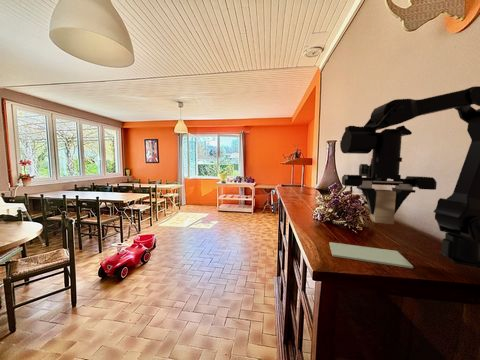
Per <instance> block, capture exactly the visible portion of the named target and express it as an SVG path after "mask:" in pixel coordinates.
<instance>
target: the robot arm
mask: <svg viewBox="0 0 480 360" xmlns="http://www.w3.org/2000/svg"><path fill="white" fill-rule="evenodd" d="M472 105H475V106H477V107H480V86H478V85H477V86H476V85H475V86H471V87H468V88H465V89H461V90H457V91H452V92H447V93H443V94H439V95H434V96H431V97H426V98H422V99H421V98H420V99H412V98H400V99H399V98H398V99H393V100H391V101H388V102H386V103H383V104H381V105H380V106H378V107H375V108H374V109H373V110H372V112H371V114H370V118H369V119H368V121H367V122H366V123H365V124H364V125H363V126H357V125H356V126H355V125H348V126H346V127H345V128H344V133H342V136H341V140H340V143H339V146H340V151H341V153H342V154H359V155H362V154H363V155H364V154H369V153H372V155H371V159H370V165H369V164H368V163H360V164H359V166H358V174H343V175H342V176H341V185H343V186H344V187H356V189H358V190H360V191H361V192H362V194H363V196H364V197H365V200H366V202H367V207H368V209H369V210H368V211H369V212H370V215H371V214H374V206H375V189H376V188H374V187H373V185H374V186H375V185H376V186H378V185H379V186H394V187H391V190H392V191H395V192H396V200H395V214H394V216H395V215H396V213H397V211H398V210H399V209H400V207H401V206H402V204H403V203H404V201H405V200H406V199H407V198H408V196H409V195H410V194H411V193H416V190H415V189H413V188H418V190H431V191H432V190H437V185H438V184H437V183H438V182H437V181H436V179H435V178H434V177H432V176H431V177H430V176H414V175H413V176H412V175H411V176H410V175H407V176H405V177H404V178H402V176H401V174H400V168H401V167H400V163H401V162H403V157H401V150H402V137H404V136H405V137H406V136H411V135H412V133H413V132H412V131H411V130H410V129H408V128H406V126H405V125H400V124H403V123H405V122H408V121H410V120H413V119H415V118H417V117H420V116H425V115H429V114H434V113H438V112H443V111H447V110H452V109H455V110H456V111H457V113H458V117H459V118H460V120H462V121H463V122H465V123H467V130H466V132H467V134H468V135H469V138H470V139H471V142H470V144H469V148H468V150H467V153H466V156H465V158H464V162H463V164H462V166H461V169H460V173H459V176H458V178H457V181H456V184H455V186H454V189H453V192H452V194H451V195H450V196H447V198H444V197H443V198H442V197H441V198H438V200H437V205H436V207H435V209H434V210H433V213H434V220H435V221H436V222H437V225H438V229H439V231H440V232H444V233H445V235H444V236H445V238H442V244H441V251H439V254H441V256H444V257H445V258H447V259H448V260H450V261H451V262H453V263H456V264H459V265H465V266H466V265H467V266H475V267H480V108H478V109H475V108H474V107H473V106H472ZM397 125H400V126H397ZM392 126H393V127H394V126H396V128H390V127H392ZM379 130H381V132H377V131H379Z"/></svg>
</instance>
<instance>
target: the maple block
mask: <svg viewBox="0 0 480 360" xmlns="http://www.w3.org/2000/svg"><path fill="white" fill-rule="evenodd" d="M374 189H375V206H374V214H371V213H370V216H369V218H370V220H371V221H373V223H377V224H386V225H387V224H388V225H389V224H390V225H394V224H395V215H396V213H395V200H396V192H395V191H392V189H376V188H374ZM394 214H395V215H394Z"/></svg>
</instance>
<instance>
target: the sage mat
mask: <svg viewBox="0 0 480 360" xmlns="http://www.w3.org/2000/svg"><path fill="white" fill-rule="evenodd" d="M328 244H329V248H330V252H331V255H332V257H335V258H342V259H347V260H355V261H359V262H360V261H361V262H367V263H374V264H379V265H380V264H381V265H387V266H393V267H401V268H406V269H414V266H413V265H412V264H411V263H410V262H409V261H408V260H407V259H406V258H405V256H403V255H402V254H401V253H400V252H399V251H398V250H393V249H392V250H391V249H384V248H377V247H370V246H362V245H355V244H354V245H353V244H345V243H339V242H331V241H329V242H328Z"/></svg>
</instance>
